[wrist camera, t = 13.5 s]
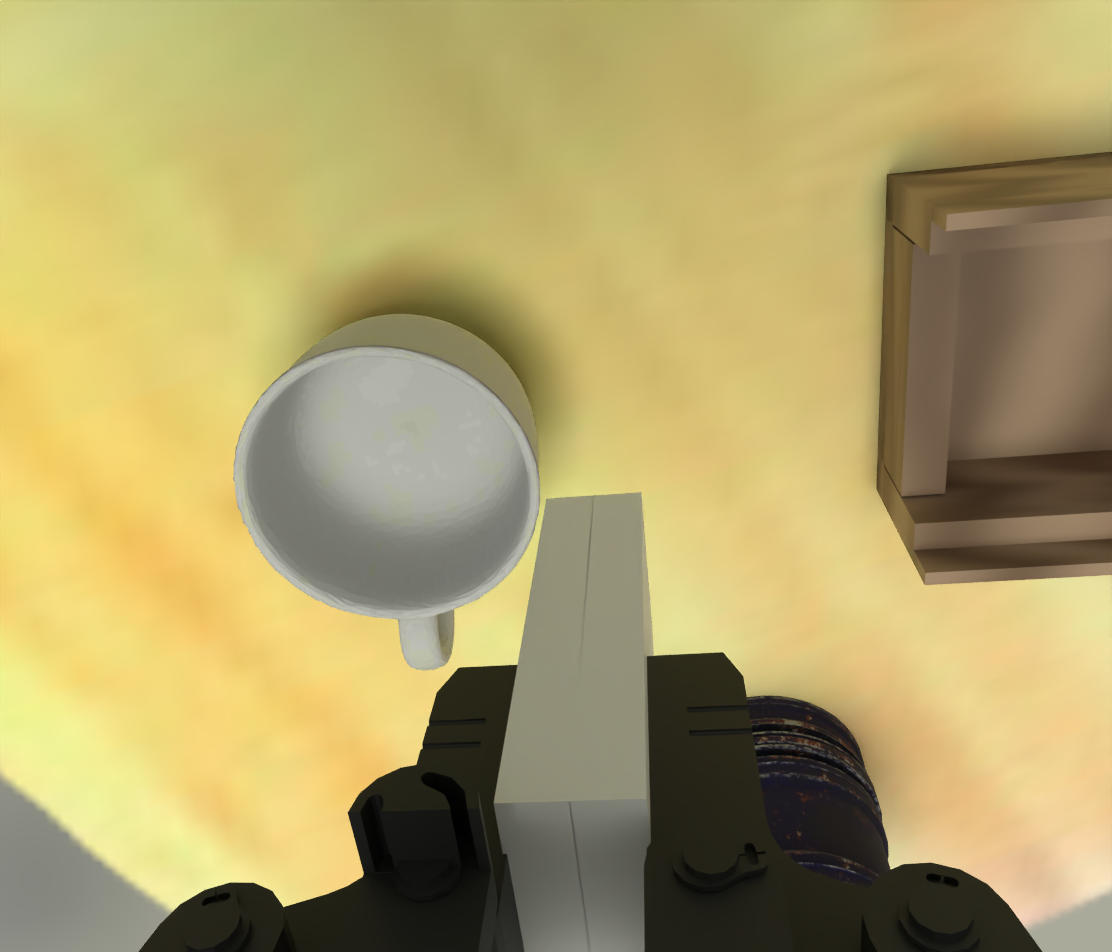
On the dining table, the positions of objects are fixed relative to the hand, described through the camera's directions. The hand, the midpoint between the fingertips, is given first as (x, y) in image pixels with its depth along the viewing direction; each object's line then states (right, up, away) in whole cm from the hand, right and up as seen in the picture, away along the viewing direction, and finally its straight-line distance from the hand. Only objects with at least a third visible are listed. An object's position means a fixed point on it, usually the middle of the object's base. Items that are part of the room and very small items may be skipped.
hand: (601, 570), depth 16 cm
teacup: (-6, +3, +27) cm, 27 cm away
